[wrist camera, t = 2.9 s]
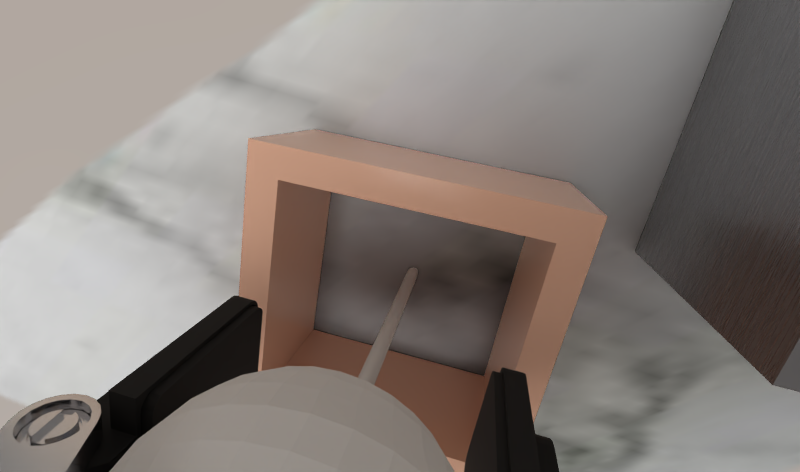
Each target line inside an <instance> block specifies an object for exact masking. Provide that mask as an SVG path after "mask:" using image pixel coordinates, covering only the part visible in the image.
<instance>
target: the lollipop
mask: <svg viewBox="0 0 800 472" xmlns="http://www.w3.org/2000/svg"><path fill="white" fill-rule="evenodd" d="M417 276H418V270H417V269H416V268H413V267H412V268H410V269H409V270H408V271H407V274H406V276H405V278H404V280H403V282H402V284H401V286H400V289H399V291H398V293H397V295H396V297H395V299H394V301H393V304H392V306H391V308H390V310H389V312H388V314H387V316H386V319H385V321H384V323H383V325H382V327H381V329H380V331H379V334H378V336H377V338H376V340H375V342H374V344H373V346H372V348H371V351H370V353H369V355H368V357H367V359H366V361H365V363H364V366H363V368H362V370H361V372H360V374H359V376H358V378H357V377H354V376H352V375H349V374H346V373H344V372H341V371H336V370H330V369H325V368H320V367H315V366H286V367H280V368H275V369H269V370H264V371H259V372H254V373H249V374H244V375H241V376H238V377H236V378H234V379H231V380H229V381H227V382H224V383H222V384H219V385H217V386H215V387H213V388H211V389H209V390H207V391H205V392H203V393H201V394H199V395H197V396H195V397H193V398H191V399H190V400H189V401H187V402H186V403H185V404H183V405H182V406H181V407H179V408H178V409H177V410H176V411H174V412H173V413H172V414H170V415H169V416H168V417H166V418H165V419H164V420H162V421H161V422H160V423H158V424H157V425H156V426H154V427H153V428H152V429H151V430H149V431H148V432H147V433H145V434H144V435H143V436H141V437H140V438H139V439H137V440H136V441H135V443H134V444H133V445H132V446H131V447H130V448H129V449H128V451H127V452H126V453H125V454H124V455H123V456H122V458H121V459H120V460H119V461H118V462H117V463H116V464H115V466H114V467H113V468H112V469H111V470H110V471H109V472H455V471H454V470H453V468H452V466H451V465H450V463H449V461H448V460H447V458H446V456H445V455H444V453H443V451H442V449H441V448H440V446H439V444H438V443H437V441H436V439H435V438H434V436H433V434H432V433H431V432H430V431H429V429H428V428H427V427H426V426H425V425H424V424H423V423H422V422H421V420H420V419H419V418H418V417H417V416H416V415H415V414H414V413H413V412H412V411H411V410H410V409H408V408H407V407H406V406H405V405H403V404H402V403H401V402H400V401H398V400H397V399H396V398H395V397H393V396H392V395H391V394H389V393H387V392H385V391H384V390H382V389H380V388H378V387H376V386H375V385H374V384H375V382H376V379H377V377H378V374H379V372H380V369H381V367H382V364H383V362H384V359H385V357H386V354H387V352H388V349H389V347H390V344H391V342H392V339H393V336H394V334H395V331H396V329H397V326H398V324H399V321H400V319H401V316H402V314H403V311H404V309H405V306H406V304H407V301H408V299H409V296H410V294H411V291H412V289H413V286H414V284H415V281H416V278H417Z"/></svg>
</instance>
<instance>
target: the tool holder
mask: <svg viewBox="0 0 800 472" xmlns="http://www.w3.org/2000/svg"><path fill="white" fill-rule="evenodd" d="M331 192H334V193H338V194H342V195H347V196H351V197H356V198H360V199H364V200H369V201H373V202H377V203H382V204H386V205H391V206H395V207H399V208H404V209H408V210H412V211H417V212H421V213H426V214H430V215H434V216H439V217H443V218H448V219H452V220H456V221H461V222H465V223H469V224H474V225H478V226H483V227H487V228H491V229H496V230H500V231H504V232H509V233H513V234H518V235H522V236H525V239H524V243H523V246H522V250H521V253H520V256H519V260H518V263H517V266H516V270H515V273H514V277H513V280H512V283H511V287H510V290H509V293H508V297H507V300H506V304H505V307H504V310H503V314H502V317H501V320H500V324H499V327H498V330H497V334H496V337H495V341H494V344H493V347H492V351H491V354H490V357H489V361H488V364H487V368H486V371H485V374H484V376H482V375H478V374H475V373H471V372H467V371H464V370H460V369H456V368H453V367H449V366H445V365H442V364H438V363H434V362H431V361H427V360H423V359H420V358H416V357H412V356H409V355H405V354H401V353H398V352H394V351H390V350H388V352H387V354H386V357H385V359H384V362H383V364H382V367H381V369H380V372H379V374H378V377H377V379H376V382H375V384H374V385H375V386H376V387H378V388H380V389H382V390H384V391H385V392H387V393H389V394H391V395H392V396H393V397H395V398H396V399H397V400H398V401H400V402H401V403H402V404H403V405H405V406H406V407H407V408H408V409H410V410H411V411H412V412H413V413H414V414H415V415H416V416H417V417H418V418H419V419H420V420H421V422H422V423H423V424H424V425H425V426H426V427H427V428H428V429H429V431H430V432H431V433H432V434H433V436H434V438H435V439H436V441H437V443H438V444H439V446H440V448H441V449H442V451H443V453H444V455H445V456H446V458H447V460H448V461H449V463H450V465H451V466H452V468H453V470H454V471H455V472H464V468H465V461H466V456H467V452H468V449H469V445H470V442H471V439H472V436H473V432H474V429H475V426H476V422H477V419H478V416H479V412H480V409H481V406H482V403H483V399H484V396H485V393H486V389H487V386H488V383H489V379H490V376H491V373H492V371H496V372H499V373H500V370H501V368H502V367H504V368H508V369H511V370H515V371H519V372H522V373H525V374H526V378H527V384H528V391H529V397H530V404H531V411H532V417H533V423H534V420H535V417H536V415H537V412H538V409H539V406H540V403H541V401H542V398H543V395H544V392H545V390H546V387H547V384H548V381H549V378H550V376H551V373H552V370H553V367H554V365H555V362H556V359H557V356H558V353H559V351H560V348H561V345H562V342H563V339H564V337H565V334H566V331H567V328H568V326H569V323H570V320H571V317H572V314H573V312H574V309H575V306H576V303H577V300H578V298H579V295H580V292H581V289H582V287H583V284H584V281H585V278H586V275H587V273H588V270H589V267H590V264H591V262H592V259H593V256H594V253H595V250H596V248H597V245H598V242H599V239H600V236H601V234H602V231H603V228H604V225H605V223H606V220H607V217H608V216H607V215H606V214H605V213H603V212H602V211H601V210H600V209H599V208H598V207H597V206H596V205H595V204H593V203H592V202H591V201H590V200H589V199H588V198H587V197H586V196H585V195H583V194H582V193H581V192H580V191H579V190H578V189H577V188H576V187H574V186H573V185H572V184H571V183H569V182H564V181H559V180H555V179H550V178H545V177H540V176H536V175H531V174H526V173H521V172H516V171H512V170H507V169H502V168H497V167H493V166H488V165H483V164H478V163H474V162H469V161H464V160H459V159H454V158H450V157H445V156H440V155H435V154H431V153H426V152H421V151H416V150H412V149H407V148H402V147H397V146H392V145H388V144H383V143H378V142H373V141H369V140H364V139H359V138H354V137H350V136H345V135H340V134H335V133H330V132H326V131H321V130H316V129H313V130H306V131H299V132H291V133H284V134H277V135H269V136H262V137H255V138H248V154H247V171H246V187H245V204H244V220H243V236H242V253H241V269H240V286H239V296H240V297H243V298H247V299H251V300H255V301H256V302H257V304H258V307H259V308H261V309H262V311H263V316H262V328H261V340H260V352H259V364H258V372H259V371H264V370H269V369H275V368H280V367H286V366H315V367H320V368H325V369H330V370H336V371H341V372H344V373H346V374H349V375H352V376H354V377H357V378H358V376H359V374H360V372H361V370H362V368H363V366H364V363H365V361H366V359H367V357H368V355H369V353H370V351H371V348H372V345H368V344H365V343H361V342H357V341H354V340H350V339H346V338H343V337H339V336H335V335H332V334H328V333H324V332H321V331H317V330H313V329H314V321H315V313H316V306H317V298H318V290H319V283H320V275H321V267H322V259H323V252H324V244H325V236H326V229H327V221H328V213H329V206H330V198H331Z"/></svg>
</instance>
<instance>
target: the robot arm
mask: <svg viewBox="0 0 800 472" xmlns="http://www.w3.org/2000/svg"><path fill="white" fill-rule="evenodd" d="M262 316H263V311H262V309H261V308H259V307H258V304H257V302H256V301H255V300H251V299H247V298H243V297H240V296H233V297H231V298H230V299H229V300H227V301H226V302H225V303H224V304H222V305H221V306H220V307H218V308H217V309H216V310H214V311H213V312H212V313H210V314H209V315H208V316H206V317H205V318H204V319H202V320H201V321H200V322H198V323H197V324H196V325H194V326H193V327H192V328H190V329H189V330H188V331H187V332H185V333H184V334H183V335H181V336H180V337H179V338H177V339H176V340H175V341H173V342H172V343H171V344H169V345H168V346H167V347H165V348H164V349H163V350H161V351H160V352H159V353H157V354H156V355H155V356H153V357H152V358H151V359H150V360H148V361H147V362H146V363H144V364H143V365H142V366H140V367H139V368H138V369H136V370H135V371H134V372H132V373H131V374H130V375H128V376H127V377H126V378H124V379H123V380H122V381H120V382H119V383H118V384H116V385H115V386H114V387H112V388H111V389H110V390H109V391H108V392H107V393H106V394H105V395H103V396H102V397H101V398H99V399H98V400H97V401H96V399H94V398H91V397H89V396H87V395H79V394H67V395H59V396H54V397H50V398H46V399H44V400H41V401H38V402H36V403H33V404H31V405H29V406H28V407H26V408H24V409H23V410H21V411H19V412H18V413H17V414H16V415H14V416H13V417H12V418H11V419H10V420H9V421H8V422H7V423H6V424H5V425H4V426H3V427H2V428H1V430H0V472H109V471H110V470H111V469H112V468H113V467H114V466H115V464H116V463H117V462H118V461H119V460H120V459H121V458H122V456H123V455H124V454H125V453H126V452H127V451H128V449H129V448H130V447H131V446H132V445H133V444H134V443H135V441H136V440H137V439H139V438H140V437H141V436H143V435H144V434H145V433H147V432H148V431H149V430H151V429H152V428H153V427H154V426H156V425H157V424H158V423H160V422H161V421H162V420H164V419H165V418H166V417H168V416H169V415H170V414H172V413H173V412H174V411H176V410H177V409H178V408H179V407H181V406H182V405H183V404H185V403H186V402H187V401H189V400H190V399H191V398H193V397H195V396H197V395H199V394H201V393H203V392H205V391H207V390H209V389H211V388H213V387H215V386H217V385H219V384H222V383H224V382H227V381H229V380H231V379H234V378H236V377H238V376H241V375H244V374H249V373H254V372H258V364H259V352H260V340H261V328H262ZM464 472H559V468H558V464H557V459H556V454H555V449H554V445H553V442H552V440H551V439H550V438H547V437H543V436H540V435H536V434H535V430H534V424H533V417H532V411H531V404H530V397H529V391H528V384H527V378H526V374H525V373H522V372H519V371H515V370H511V369H508V368H504V367H502V368H501V370H500V373H499V372H496V371H492V373H491V376H490V379H489V383H488V386H487V389H486V393H485V396H484V399H483V403H482V406H481V409H480V412H479V416H478V419H477V422H476V426H475V429H474V432H473V436H472V439H471V442H470V445H469V449H468V452H467V456H466V461H465V468H464Z"/></svg>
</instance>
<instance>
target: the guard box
mask: <svg viewBox="0 0 800 472" xmlns="http://www.w3.org/2000/svg"><path fill="white" fill-rule="evenodd" d="M635 252H636V253H637V254H638V255H639V256H640V257H641V258H642V259H643V260H644V261H645V262H646V263H647V264H648V265H649V266H650V267H652V268H653V269H654V270H655V271H656V272H657V273H658V274H659V275H660V276H661V277H662V278H663V279H664V280H665V281H666V282H667V283H668V284H669V285H670V286H671V287H672V288H673V289H674V290H675V291H676V292H677V293H678V294H679V295H680V296H681V297H682V298H683V299H685V300H686V301H687V302H688V303H689V304H690V305H691V306H692V307H693V308H694V309H695V310H696V311H697V312H698V313H699V314H700V315H701V316H702V317H703V318H704V319H705V320H706V321H707V322H708V323H709V324H710V325H711V326H712V327H713V328H714V329H715V330H716V331H718V332H719V333H720V334H721V335H722V336H723V337H724V338H725V339H726V340H727V341H728V342H729V343H730V344H731V345H732V346H733V347H734V348H735V349H736V350H737V351H738V352H739V353H740V354H741V355H742V356H743V357H744V358H745V359H746V360H747V361H748V362H749V363H751V364H752V365H753V366H754V367H755V368H756V369H757V370H758V371H759V372H760V373H761V374H762V375H763V376H764V377H765V378H766V379H767V380H768V381H769V382H770V383H771V384H772V385H775V386H779V387H783V388H787V389H790V390H794V391H798V392H800V0H734V2H733V4H732V7H731V9H730V12H729V14H728V17H727V19H726V22H725V24H724V27H723V30H722V32H721V35H720V37H719V40H718V42H717V45H716V47H715V50H714V52H713V55H712V58H711V60H710V63H709V65H708V68H707V70H706V73H705V75H704V78H703V80H702V83H701V86H700V88H699V91H698V93H697V96H696V98H695V101H694V103H693V106H692V108H691V111H690V114H689V116H688V119H687V121H686V124H685V126H684V129H683V131H682V134H681V136H680V139H679V141H678V144H677V147H676V149H675V152H674V154H673V157H672V159H671V162H670V164H669V167H668V169H667V172H666V175H665V177H664V180H663V182H662V185H661V187H660V190H659V192H658V195H657V197H656V200H655V203H654V205H653V208H652V210H651V213H650V215H649V218H648V220H647V223H646V225H645V228H644V231H643V233H642V236H641V238H640V241H639V243H638V246H637V248H636V251H635Z"/></svg>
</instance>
